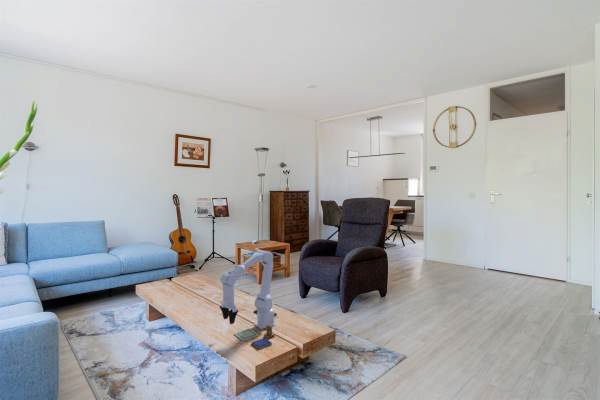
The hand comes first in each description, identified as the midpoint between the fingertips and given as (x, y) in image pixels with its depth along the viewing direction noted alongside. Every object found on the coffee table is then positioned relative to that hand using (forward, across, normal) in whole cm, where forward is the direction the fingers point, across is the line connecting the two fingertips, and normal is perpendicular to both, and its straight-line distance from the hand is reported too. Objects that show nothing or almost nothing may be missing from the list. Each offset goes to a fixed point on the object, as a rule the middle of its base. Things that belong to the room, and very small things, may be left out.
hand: (228, 321), depth 173 cm
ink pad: (+10, +16, +10) cm, 22 cm away
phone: (+10, -17, +33) cm, 39 cm away
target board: (+10, +2, +9) cm, 14 cm away
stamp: (+10, +11, +18) cm, 24 cm away
